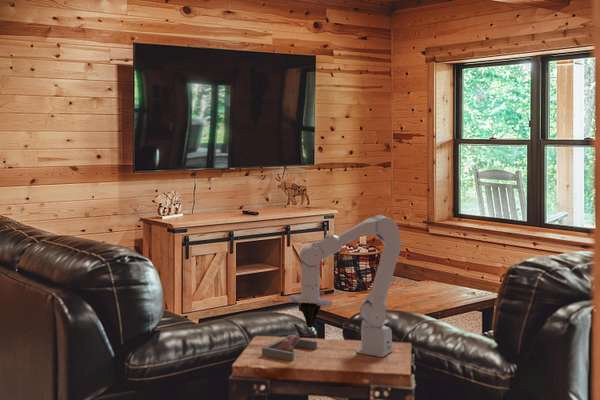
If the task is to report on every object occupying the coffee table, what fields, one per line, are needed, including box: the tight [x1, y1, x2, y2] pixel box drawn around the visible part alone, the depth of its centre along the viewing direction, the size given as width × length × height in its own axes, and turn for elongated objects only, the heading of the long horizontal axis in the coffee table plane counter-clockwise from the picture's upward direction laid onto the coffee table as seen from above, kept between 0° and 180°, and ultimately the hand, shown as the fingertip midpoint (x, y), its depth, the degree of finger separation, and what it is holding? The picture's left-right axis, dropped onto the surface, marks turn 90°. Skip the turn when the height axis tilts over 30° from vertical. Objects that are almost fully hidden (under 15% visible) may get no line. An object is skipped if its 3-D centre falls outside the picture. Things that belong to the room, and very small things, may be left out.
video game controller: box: [275, 333, 301, 352], centre depth 239 cm, size 10×5×7 cm, turn 157°
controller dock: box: [261, 337, 318, 362], centre depth 239 cm, size 11×15×2 cm
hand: (310, 326), depth 235 cm, fingers closed
